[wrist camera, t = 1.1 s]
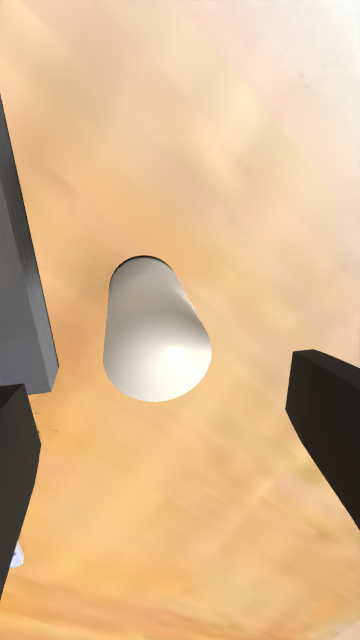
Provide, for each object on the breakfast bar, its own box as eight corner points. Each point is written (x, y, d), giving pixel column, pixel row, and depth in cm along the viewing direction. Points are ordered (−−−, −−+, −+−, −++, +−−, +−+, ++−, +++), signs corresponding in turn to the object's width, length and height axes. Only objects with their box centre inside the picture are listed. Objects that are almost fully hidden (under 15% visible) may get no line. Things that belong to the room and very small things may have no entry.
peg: (179, 317, 18) (211, 394, 12) (113, 323, 18) (110, 408, 11) (177, 252, 17) (212, 302, 10) (104, 257, 16) (96, 312, 10)
